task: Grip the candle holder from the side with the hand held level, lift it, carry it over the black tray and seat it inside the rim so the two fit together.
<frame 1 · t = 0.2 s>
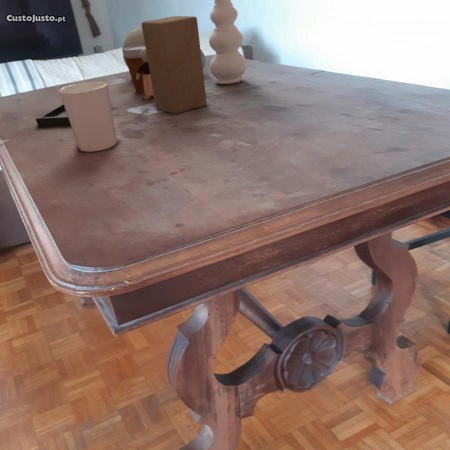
black tray: (75, 117, 126), on the table
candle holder: (98, 146, 104), on the table
wooden block: (181, 107, 124), on the table
grandmother figurine: (153, 97, 137), on the table
vase: (229, 83, 143), on the table
disposable coffee cup: (146, 92, 144), on the table
pencil case: (189, 72, 162), on the table
decorative sphere: (149, 77, 162), on the table
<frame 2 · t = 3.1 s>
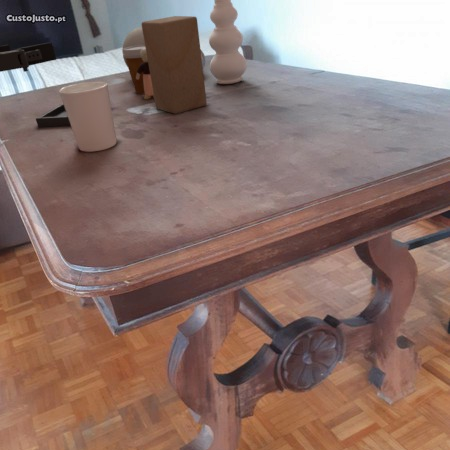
hand: (30, 51, 87), 20 cm above the table, tool horizontal, fingers open, 13 cm apart
nothing on the table moved.
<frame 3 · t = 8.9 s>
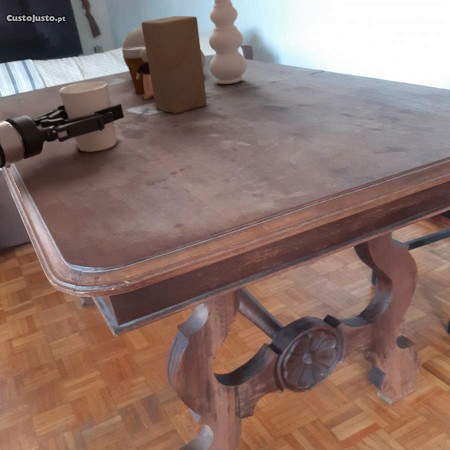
hand: (106, 108, 102), 7 cm above the table, tool horizontal, fingers closed on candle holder, 9 cm apart
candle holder: (98, 146, 104), on the table, touching gripper
everything else where it was.
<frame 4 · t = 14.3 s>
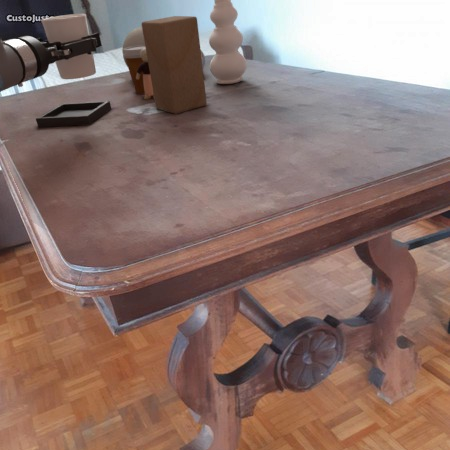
hand: (80, 40, 111), 18 cm above the table, tool horizontal, fingers closed on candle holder, 9 cm apart
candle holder: (78, 76, 112), point 11 cm above the table, touching gripper
everything else where it was.
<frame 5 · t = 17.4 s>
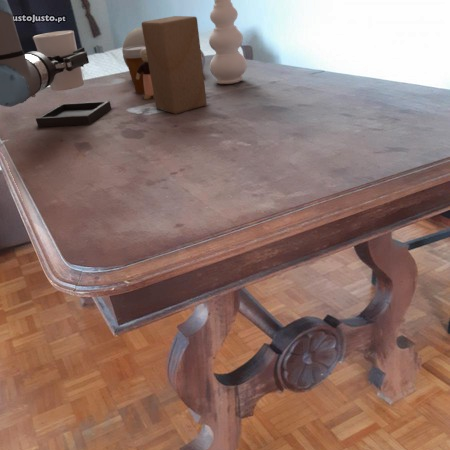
hand: (65, 55, 121), 14 cm above the table, tool horizontal, fingers closed on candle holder, 9 cm apart
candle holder: (68, 87, 121), point 7 cm above the table, touching gripper
everything else where it was.
when the fingers open (7 cm above the table, at t = 19.9 s): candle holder stays where it is, resting on black tray.
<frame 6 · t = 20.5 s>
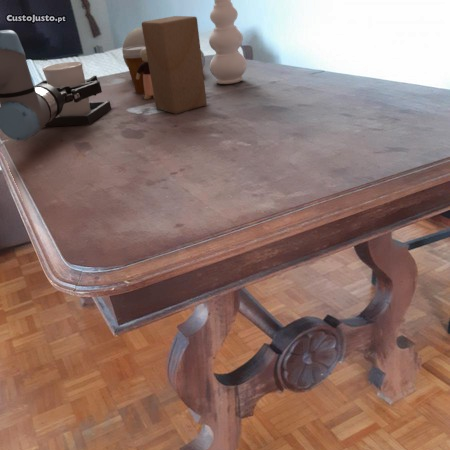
hand: (71, 83, 124), 8 cm above the table, tool horizontal, fingers open, 13 cm apart
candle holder: (75, 115, 126), resting on black tray
everything else where it was.
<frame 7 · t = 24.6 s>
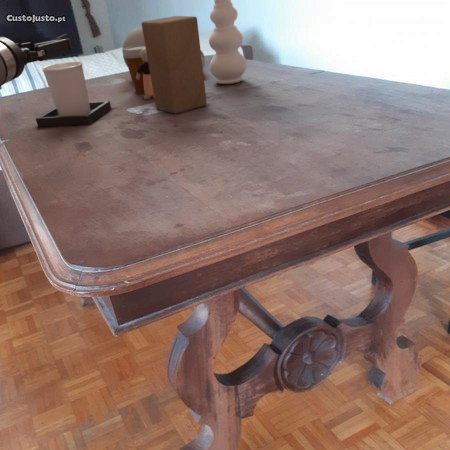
hand: (39, 43, 107), 19 cm above the table, tool horizontal, fingers open, 13 cm apart
nothing on the table moved.
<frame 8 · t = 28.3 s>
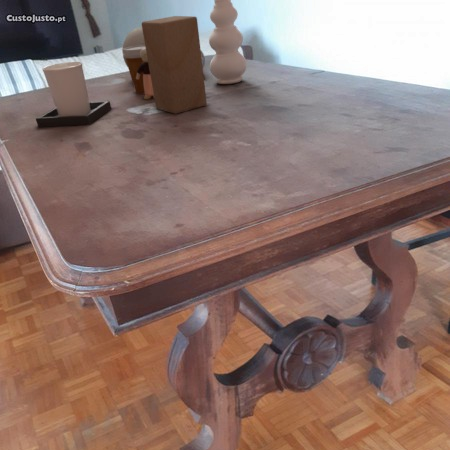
nothing on the table moved.
at the end: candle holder 0.1 cm off-centre in the black tray, point 0.4 cm above the black tray's base; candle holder tilted 0°; the gripper is holding nothing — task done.
